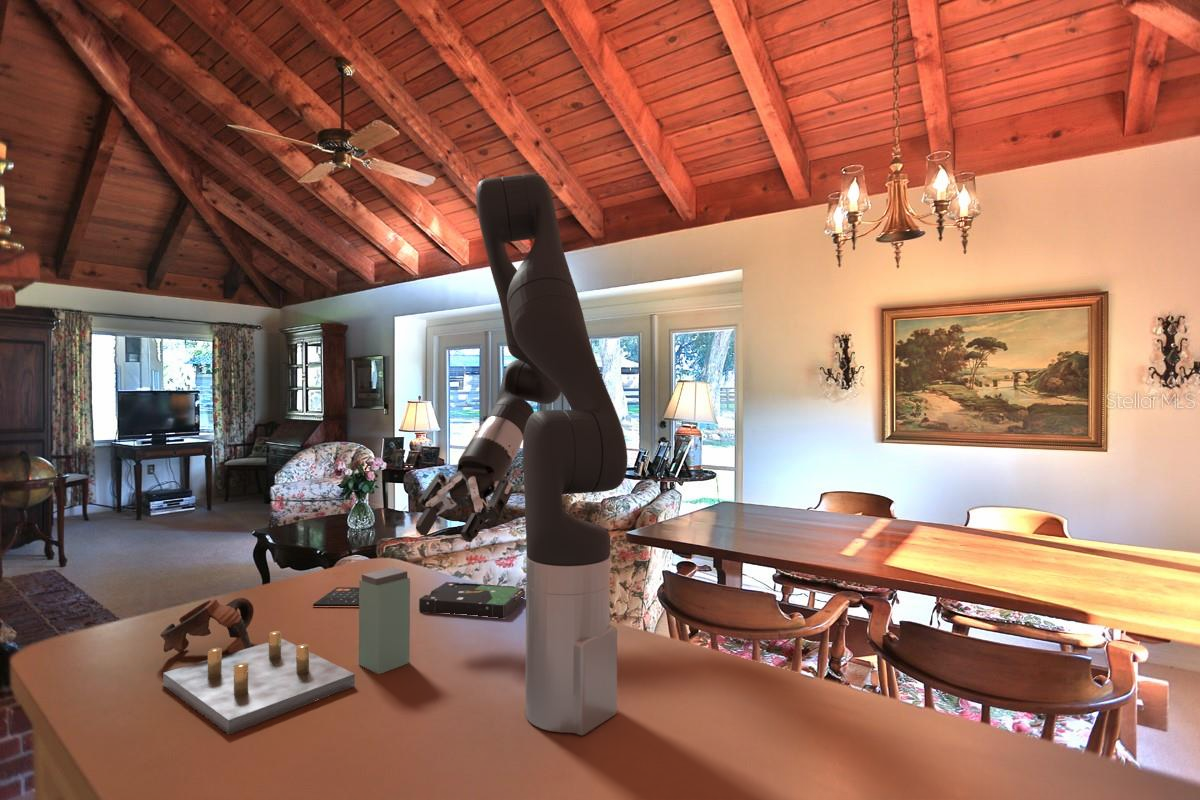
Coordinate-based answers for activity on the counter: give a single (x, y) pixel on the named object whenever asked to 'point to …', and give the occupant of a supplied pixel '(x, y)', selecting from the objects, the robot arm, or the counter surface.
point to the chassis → (256, 682)
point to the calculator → (340, 597)
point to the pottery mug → (199, 624)
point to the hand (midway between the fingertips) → (442, 535)
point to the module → (384, 620)
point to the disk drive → (472, 599)
